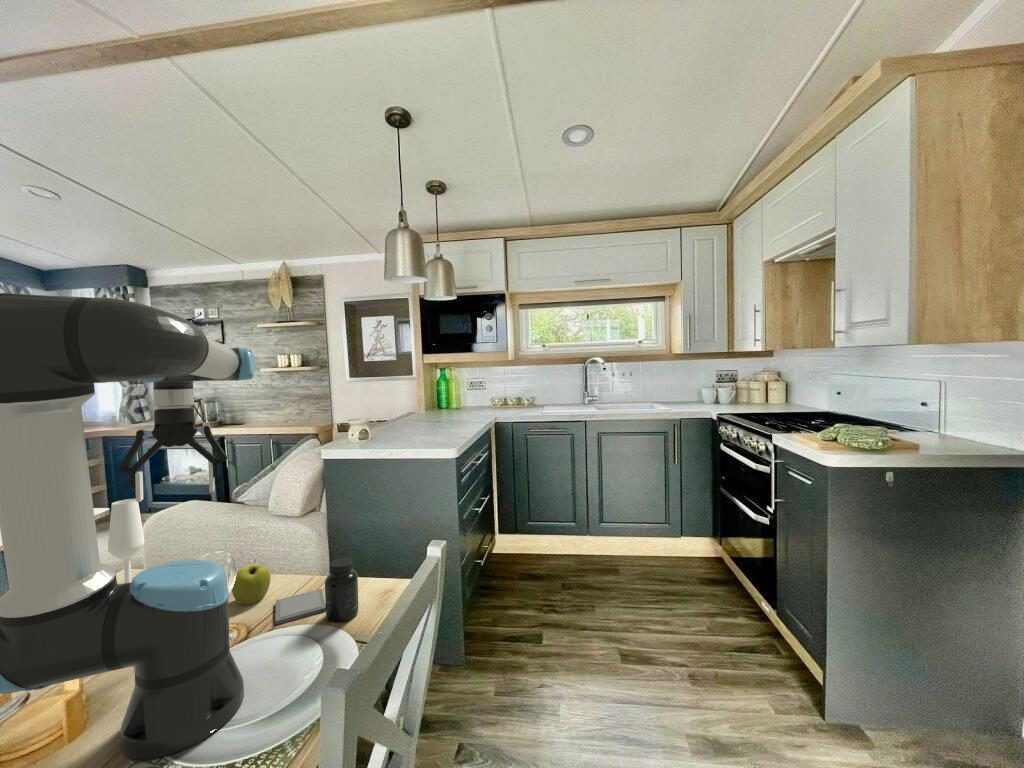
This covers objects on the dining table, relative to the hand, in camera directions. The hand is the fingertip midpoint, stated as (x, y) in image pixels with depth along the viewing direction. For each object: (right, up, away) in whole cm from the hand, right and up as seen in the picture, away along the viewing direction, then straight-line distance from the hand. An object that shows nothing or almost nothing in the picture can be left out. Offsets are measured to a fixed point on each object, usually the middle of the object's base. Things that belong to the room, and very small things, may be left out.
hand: (177, 495), depth 99 cm
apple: (+18, -26, +1) cm, 31 cm away
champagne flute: (-15, -27, +4) cm, 31 cm away
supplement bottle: (+43, -25, -7) cm, 50 cm away
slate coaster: (+31, -25, -3) cm, 40 cm away
